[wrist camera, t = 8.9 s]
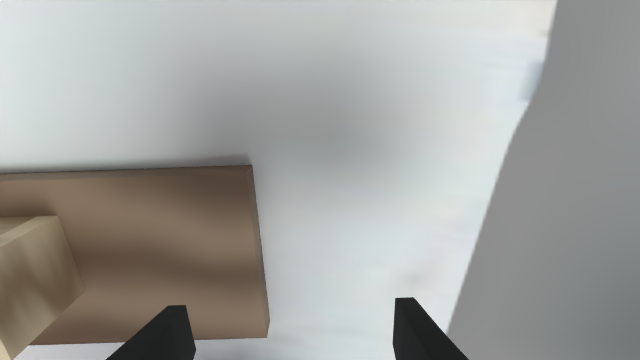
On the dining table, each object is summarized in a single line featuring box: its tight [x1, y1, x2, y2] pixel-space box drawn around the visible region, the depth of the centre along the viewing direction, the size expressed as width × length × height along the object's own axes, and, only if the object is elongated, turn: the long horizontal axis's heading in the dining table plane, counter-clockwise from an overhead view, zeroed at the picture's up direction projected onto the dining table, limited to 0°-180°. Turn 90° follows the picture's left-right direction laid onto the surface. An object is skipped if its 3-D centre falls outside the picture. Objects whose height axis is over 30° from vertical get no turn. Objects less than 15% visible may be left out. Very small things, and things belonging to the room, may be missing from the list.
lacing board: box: [0, 165, 270, 345], centre depth 18 cm, size 12×18×6 cm, turn 92°
